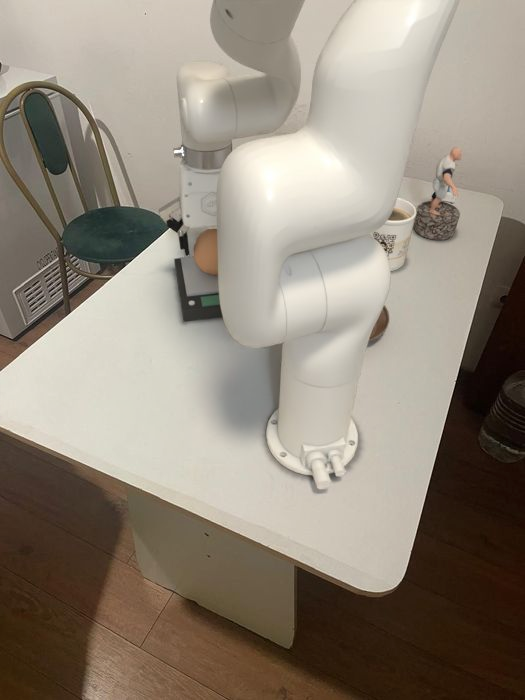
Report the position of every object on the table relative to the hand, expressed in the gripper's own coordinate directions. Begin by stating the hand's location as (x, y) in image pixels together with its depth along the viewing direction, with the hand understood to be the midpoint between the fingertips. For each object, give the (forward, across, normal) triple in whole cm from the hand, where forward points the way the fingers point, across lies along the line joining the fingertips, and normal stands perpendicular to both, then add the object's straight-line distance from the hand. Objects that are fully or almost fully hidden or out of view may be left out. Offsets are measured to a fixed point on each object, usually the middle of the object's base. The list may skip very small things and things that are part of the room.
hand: (213, 248), depth 91 cm
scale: (+8, 0, -1) cm, 8 cm away
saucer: (+8, +20, -15) cm, 27 cm away
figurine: (+8, +50, +11) cm, 51 cm away
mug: (+8, +33, +4) cm, 34 cm away
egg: (+5, 0, 0) cm, 5 cm away
